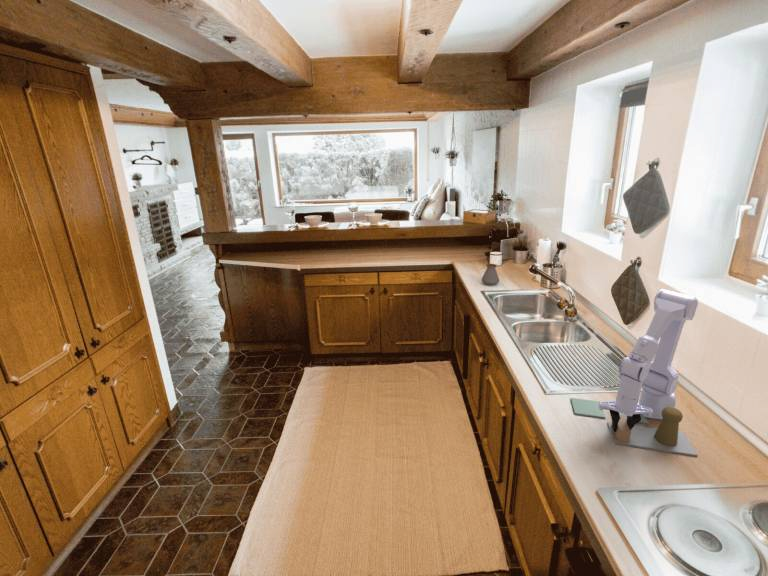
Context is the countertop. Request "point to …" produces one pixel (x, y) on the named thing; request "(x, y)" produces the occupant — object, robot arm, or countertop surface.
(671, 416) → the olive rounded upright post
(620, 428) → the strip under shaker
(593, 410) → the pair of green tiles
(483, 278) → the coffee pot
